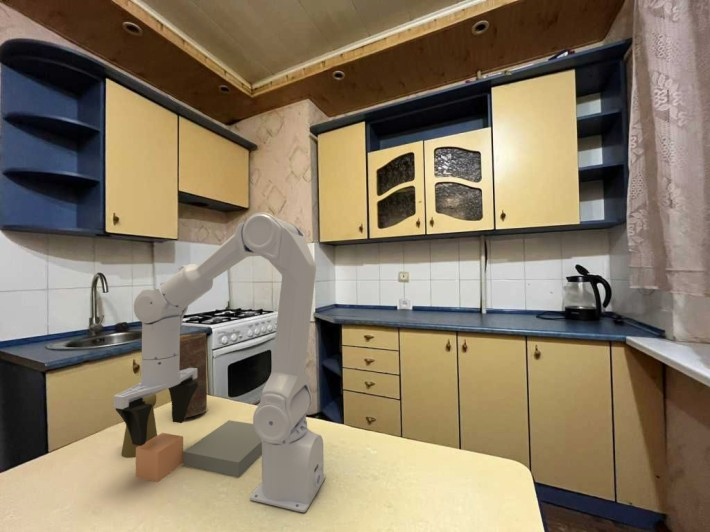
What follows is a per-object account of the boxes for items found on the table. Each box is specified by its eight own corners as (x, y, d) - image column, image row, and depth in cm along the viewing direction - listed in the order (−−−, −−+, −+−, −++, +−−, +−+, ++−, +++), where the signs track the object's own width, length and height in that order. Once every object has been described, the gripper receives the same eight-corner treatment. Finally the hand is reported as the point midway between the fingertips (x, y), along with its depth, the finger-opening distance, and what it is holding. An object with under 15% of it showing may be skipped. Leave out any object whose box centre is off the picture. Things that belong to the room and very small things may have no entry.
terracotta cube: (183, 464, 53) (183, 436, 54) (157, 482, 49) (157, 452, 49) (162, 459, 55) (162, 432, 55) (135, 477, 50) (135, 447, 50)
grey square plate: (276, 441, 61) (276, 427, 61) (238, 480, 49) (238, 462, 49) (228, 434, 64) (228, 420, 64) (182, 468, 53) (182, 451, 53)
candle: (196, 422, 68) (196, 337, 69) (165, 422, 69) (166, 337, 69) (212, 408, 76) (212, 331, 77) (184, 408, 76) (185, 331, 77)
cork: (138, 459, 55) (139, 400, 55) (112, 455, 56) (113, 398, 56) (165, 441, 61) (166, 388, 61) (141, 438, 62) (142, 386, 62)
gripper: (178, 345, 61) (177, 411, 60) (100, 365, 47) (98, 452, 46) (206, 347, 59) (205, 415, 58) (132, 369, 45) (131, 459, 44)
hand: (160, 432), depth 52 cm, fingers open, 7 cm apart
